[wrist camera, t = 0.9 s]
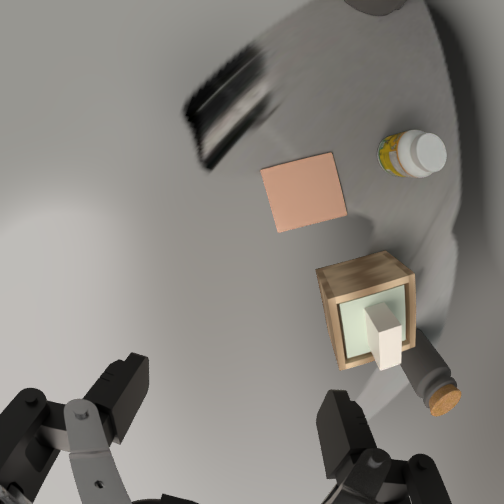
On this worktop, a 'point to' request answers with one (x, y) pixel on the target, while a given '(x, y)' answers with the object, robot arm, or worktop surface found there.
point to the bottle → (430, 376)
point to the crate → (362, 284)
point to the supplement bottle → (412, 154)
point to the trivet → (304, 192)
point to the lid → (375, 326)
